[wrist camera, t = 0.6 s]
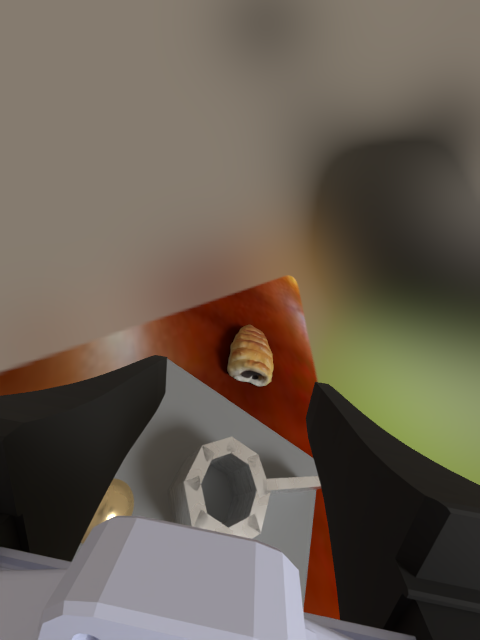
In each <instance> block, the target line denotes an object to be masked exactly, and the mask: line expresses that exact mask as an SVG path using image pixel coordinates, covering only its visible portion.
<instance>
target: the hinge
mask: <svg viewBox="0 0 480 640" xmlns="http://www.w3.org/2000/svg"><path fill="white" fill-rule="evenodd" d="M209 465H213V466H214V467H216V468H217V469H219V470H220V471H222V472H223V473H225V474H226V475H227V477H228V481H229V485H230V488H231V492H232V496H233V498H232V501H231V504H230V507H229V510H228V513H227V515H226V518H225V520H224V521H222V522H219V521H218V520H216V519H215V518H213V517H212V516H210V515H209V514H207V510H206V506H205V501H204V496H203V492H202V487H201V483H202V480H203V478H204V476H205V474H206V471H207V469H208V467H209ZM320 488H321V484H320V481H319V477H318V476H309V477H291V478H273V479H266V476H265V473H264V470H263V467H262V464H261V461H260V458H259V456H258V454H257V453H255V452H254V451H252V450H251V449H249V448H248V447H247V446H245V445H244V444H242V443H241V442H239V441H238V440H236V439H235V438H233V437H232V436H231V437H229V438H225V439H222V440H219V441H215V442H212V443H209V444H205V445H202V446H201V447H199V448H198V449H197V450H195V451H194V452H193V453H191V454H190V455H189V456H188V457H186V458H185V460H184V462H183V464H182V466H181V468H180V470H179V472H178V473H177V475H176V477H175V479H174V481H173V483H172V485H171V487H170V488H169V490H168V494H169V500H170V507H171V513H172V520H173V523H177V524H182V525H187V526H192V527H197V528H202V529H207V530H212V531H217V532H221V533H226V534H231V535H236V536H241V537H246V538H251V539H252V538H254V537H256V536H257V535H259V534H261V530H262V526H263V522H264V517H265V513H266V509H267V505H268V501H269V496H270V495H275V494H286V493H297V492H307V491H311V490H316V489H320Z"/></svg>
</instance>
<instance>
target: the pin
mask: <svg viewBox="0 0 480 640" xmlns="http://www.w3.org/2000/svg"><path fill="white" fill-rule="evenodd" d="M133 508H134V497H133V493H132V490H131V488H130V487H129V486H128V484H127V483H125V482H124V481H122V480H119V479H113V480H112V482H111V484H110V486H109V488H108V490H107V492H106V494H105V495H104V497H103V499H102V501H101V503H100V505H99V507H98V509H97V511H96V513H95V515H94V517H93V519H92V521H91V523H90V525H89V527H88V529H87V531H86V533H85V535H84V537H83V539H82V541H81V544H83V543H84V542H85V540H86V538H87V537H88V535H89V534H90V532H91V530H92V529H93V527H95V526H97V525H99V524H100V523H102V522H104V521H106V520H108V519H110V518H112V517H115V516H132V513H133Z"/></svg>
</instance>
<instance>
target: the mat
mask: <svg viewBox="0 0 480 640" xmlns="http://www.w3.org/2000/svg"><path fill="white" fill-rule="evenodd" d="M231 436H232V437H233V438H235V439H236V440H238V441H239V442H241V443H242V444H244V445H245V446H247V447H248V448H249V449H251V450H252V451H254V452H255V453H257V454H258V456H259V458H260V461H261V464H262V467H263V470H264V473H265V476H266V479H273V478H291V477H309V476H318V473H317V469H316V466H315V462H314V459H313V458H312V457H310V456H309V455H307V454H306V453H305V452H303V451H302V450H300V449H299V448H297V447H296V446H294V445H293V444H291V443H290V442H288V441H287V440H286V439H284V438H283V437H281V436H280V435H278V434H277V433H275V432H274V431H272V430H271V429H269V428H268V427H267V426H265V425H264V424H262V423H261V422H259V421H258V420H256V419H255V418H253V417H252V416H250V415H249V414H248V413H246V412H245V411H243V410H242V409H240V408H239V407H237V406H236V405H234V404H233V403H231V402H230V401H229V400H227V399H226V398H224V397H223V396H221V395H220V394H218V393H217V392H215V391H214V390H212V389H211V388H210V387H208V386H207V385H205V384H204V383H202V382H201V381H199V380H198V379H196V378H195V377H194V376H192V375H191V374H189V373H188V372H186V371H185V370H183V369H182V368H180V367H179V366H177V365H176V364H175V363H173V362H172V361H170V360H169V359H167V372H166V392H165V395H164V397H163V399H162V402H161V404H160V406H159V407H158V409H157V411H156V413H155V414H154V416H153V417H152V419H151V420H150V422H149V423H148V425H147V426H146V428H145V429H144V430H143V432H142V433H141V435H140V436H139V438H138V439H137V441H136V442H135V444H134V445H133V446H132V448H131V449H130V451H129V452H128V454H127V456H126V457H125V459H124V460H123V462H122V464H121V466H120V468H119V469H118V471H117V473H116V475H115V477H114V478H113V479H119V480H122V481H124V482H125V483H127V484H128V486H129V487H130V488H131V490H132V493H133V497H134V508H133V513H132V516H143V517H148V518H153V519H158V520H162V521H167V522H172V523H173V520H172V513H171V507H170V500H169V494H168V490H169V488H170V487H171V485H172V483H173V481H174V479H175V477H176V475H177V473H178V472H179V470H180V468H181V466H182V464H183V462H184V460H185V458H186V457H188V456H189V455H190V454H191V453H193V452H194V451H195V450H197V449H198V448H199V447H201V446H202V445H205V444H209V443H212V442H215V441H219V440H222V439H225V438H229V437H231ZM201 487H202V492H203V496H204V501H205V506H206V510H207V514H209V515H210V516H212V517H213V518H215V519H216V520H218V521H219V522H222V521H224V520H225V518H226V515H227V513H228V510H229V507H230V504H231V501H232V498H233V496H232V492H231V488H230V485H229V481H228V477H227V475H226V474H225V473H223V472H222V471H220V470H219V469H217V468H216V467H214V466H213V465H209V467H208V469H207V471H206V474H205V476H204V478H203V480H202V483H201ZM315 496H316V490H311V491H307V492H297V493H286V494H275V495H270V496H269V501H268V505H267V509H266V513H265V517H264V522H263V526H262V530H261V534H259V535H257V536H256V537H254V538H252V539H256V540H258V541H261V542H263V543H265V544H268V545H270V546H273V547H275V548H278V549H279V550H280V551H281V552H282V553H283V554H284V555H285V556H286V557H287V558H288V559H289V560H290V561H291V562H292V563H293V565H294V566H295V567H296V568H297V569H298V570H299V577H300V586H301V596H302V605H303V607H304V598H305V589H306V579H307V570H308V561H309V552H310V542H311V533H312V524H313V514H314V505H315ZM82 545H83V544H81V543H80V545H79V547H78V549H77V552H76V554H75V556H76V555H77V553H78V552H79V550H80V548H81V547H82ZM75 556H74V558H75ZM74 558H73V560H74ZM73 560H72V561H73Z"/></svg>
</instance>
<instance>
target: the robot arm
mask: <svg viewBox="0 0 480 640" xmlns="http://www.w3.org/2000/svg"><path fill="white" fill-rule="evenodd" d="M166 372H167V357H163V356H157V355H154V356H151V357H148V358H145V359H143V360H140V361H137V362H135V363H132V364H130V365H127V366H125V367H122V368H120V369H117V370H114V371H111V372H109V373H106V374H103V375H100V376H97V377H94V378H91V379H87V380H84V381H80V382H76V383H73V384H68V385H64V386H59V387H54V388H49V389H44V390H39V391H33V392H26V393H19V394H12V395H4V396H0V640H480V485H478V484H476V483H474V482H472V481H470V480H468V479H466V478H464V477H462V476H460V475H458V474H456V473H454V472H452V471H450V470H448V469H447V468H445V467H443V466H441V465H439V464H437V463H435V462H434V461H432V460H430V459H429V458H427V457H425V456H423V455H422V454H420V453H418V452H417V451H415V450H413V449H412V448H410V447H409V446H407V445H405V444H404V443H402V442H401V441H399V440H398V439H396V438H395V437H393V436H392V435H390V434H389V433H387V432H386V431H385V430H383V429H382V428H380V427H379V426H378V425H377V424H376V423H374V422H373V421H372V420H370V419H369V418H368V417H367V416H365V415H364V414H363V413H362V412H361V411H359V410H358V409H357V408H356V407H355V406H353V405H352V404H351V403H350V402H349V401H348V400H347V399H345V398H344V397H343V396H342V395H341V394H340V393H339V392H337V391H336V390H335V389H334V388H333V387H331V386H330V385H329V384H324V383H318V382H315V385H314V389H313V392H312V396H311V400H310V404H309V408H308V412H307V416H306V423H307V432H308V439H309V443H310V447H311V450H312V454H313V458H314V462H315V466H316V469H317V473H318V477H319V481H320V484H321V488H322V493H323V497H324V503H325V509H326V515H327V521H328V527H329V534H330V541H331V548H332V555H333V562H334V570H335V578H336V586H337V594H338V603H339V613H340V620H337V619H332V618H328V617H323V616H319V615H314V614H309V613H305V612H303V605H302V596H301V586H300V577H299V570H298V569H297V568H296V567H295V566H294V565H293V563H292V562H291V561H290V560H289V559H288V558H287V557H286V556H285V555H284V554H283V553H282V552H281V551H280V550H279V549H278V548H275V547H273V546H270V545H268V544H265V543H263V542H261V541H258V540H256V539H251V538H246V537H241V536H236V535H231V534H226V533H221V532H217V531H212V530H207V529H202V528H197V527H192V526H187V525H182V524H177V523H172V522H167V521H162V520H158V519H153V518H148V517H143V516H115V517H112V518H110V519H108V520H106V521H104V522H102V523H100V524H99V525H97V526H95V527H93V529H92V530H91V532H90V534H89V535H88V537H87V538H86V540H85V542H84V543H83V545H82V547H81V548H80V550H79V552H78V553H77V555H76V556H75V554H76V552H77V549H78V547H79V545H80V543H81V541H82V539H83V537H84V535H85V533H86V531H87V529H88V527H89V525H90V523H91V521H92V519H93V517H94V515H95V513H96V511H97V509H98V507H99V505H100V503H101V501H102V499H103V497H104V495H105V494H106V492H107V490H108V488H109V486H110V484H111V482H112V480H113V478H114V477H115V475H116V473H117V471H118V469H119V468H120V466H121V464H122V462H123V460H124V459H125V457H126V456H127V454H128V452H129V451H130V449H131V448H132V446H133V445H134V444H135V442H136V441H137V439H138V438H139V436H140V435H141V433H142V432H143V430H144V429H145V428H146V426H147V425H148V423H149V422H150V420H151V419H152V417H153V416H154V414H155V413H156V411H157V409H158V407H159V406H160V404H161V402H162V399H163V397H164V395H165V392H166ZM74 556H75V558H74ZM73 558H74V560H73ZM72 560H73V561H72Z"/></svg>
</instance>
